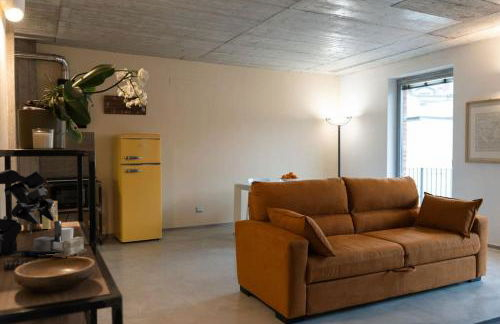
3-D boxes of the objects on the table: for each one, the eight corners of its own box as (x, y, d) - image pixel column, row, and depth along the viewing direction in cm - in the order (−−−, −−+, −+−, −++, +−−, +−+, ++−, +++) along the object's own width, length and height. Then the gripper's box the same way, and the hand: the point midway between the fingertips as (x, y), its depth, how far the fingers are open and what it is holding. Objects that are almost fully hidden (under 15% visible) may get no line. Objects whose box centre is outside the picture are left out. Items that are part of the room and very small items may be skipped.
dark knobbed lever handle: (33, 248, 171) (33, 221, 171) (39, 246, 174) (38, 219, 174) (64, 249, 168) (63, 222, 167) (69, 248, 171) (68, 221, 170)
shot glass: (56, 245, 186) (56, 230, 186) (59, 242, 193) (58, 227, 193) (72, 244, 188) (72, 229, 188) (74, 241, 195) (74, 226, 194)
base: (23, 255, 167) (23, 239, 167) (45, 249, 179) (44, 234, 179) (67, 258, 162) (67, 242, 162) (86, 251, 174) (86, 236, 174)
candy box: (51, 227, 234) (50, 200, 233) (58, 227, 233) (57, 200, 233) (42, 230, 225) (41, 202, 225) (49, 230, 224) (48, 202, 224)
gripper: (16, 183, 164) (40, 211, 161) (49, 180, 182) (71, 206, 179) (0, 202, 166) (23, 230, 163) (34, 198, 184) (56, 223, 181)
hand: (45, 221), depth 172 cm, fingers open, 9 cm apart
